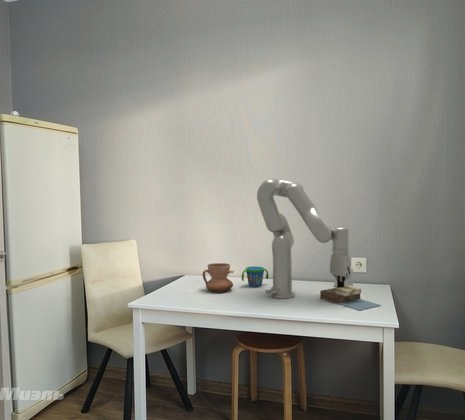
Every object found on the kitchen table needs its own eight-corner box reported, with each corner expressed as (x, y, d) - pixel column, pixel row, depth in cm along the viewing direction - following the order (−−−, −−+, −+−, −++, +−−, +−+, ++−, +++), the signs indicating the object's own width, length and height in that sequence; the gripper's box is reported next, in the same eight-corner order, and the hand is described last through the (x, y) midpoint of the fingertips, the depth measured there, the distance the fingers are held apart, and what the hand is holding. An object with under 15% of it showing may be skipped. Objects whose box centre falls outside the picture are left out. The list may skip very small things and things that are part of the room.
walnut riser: (337, 304, 205) (337, 295, 204) (320, 298, 215) (320, 290, 215) (360, 299, 212) (360, 291, 212) (342, 294, 223) (342, 286, 222)
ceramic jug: (238, 288, 238) (238, 262, 237) (229, 294, 224) (228, 267, 224) (208, 286, 244) (208, 261, 244) (197, 292, 231) (196, 266, 230)
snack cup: (265, 282, 250) (265, 265, 249) (271, 287, 240) (271, 268, 239) (239, 284, 246) (239, 267, 246) (244, 289, 236) (244, 270, 236)
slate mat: (359, 310, 194) (359, 309, 194) (338, 304, 205) (338, 303, 205) (380, 305, 201) (380, 305, 201) (359, 299, 212) (359, 298, 212)
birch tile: (346, 296, 203) (346, 291, 203) (335, 293, 209) (335, 288, 209) (361, 293, 208) (361, 288, 208) (350, 290, 214) (350, 285, 214)
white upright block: (354, 287, 235) (354, 265, 235) (351, 289, 232) (351, 266, 231) (336, 285, 242) (336, 263, 241) (333, 286, 238) (333, 264, 237)
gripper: (324, 250, 216) (324, 287, 218) (346, 254, 204) (346, 293, 205) (335, 249, 220) (335, 285, 222) (357, 253, 208) (357, 290, 209)
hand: (340, 288), depth 213 cm, fingers closed
